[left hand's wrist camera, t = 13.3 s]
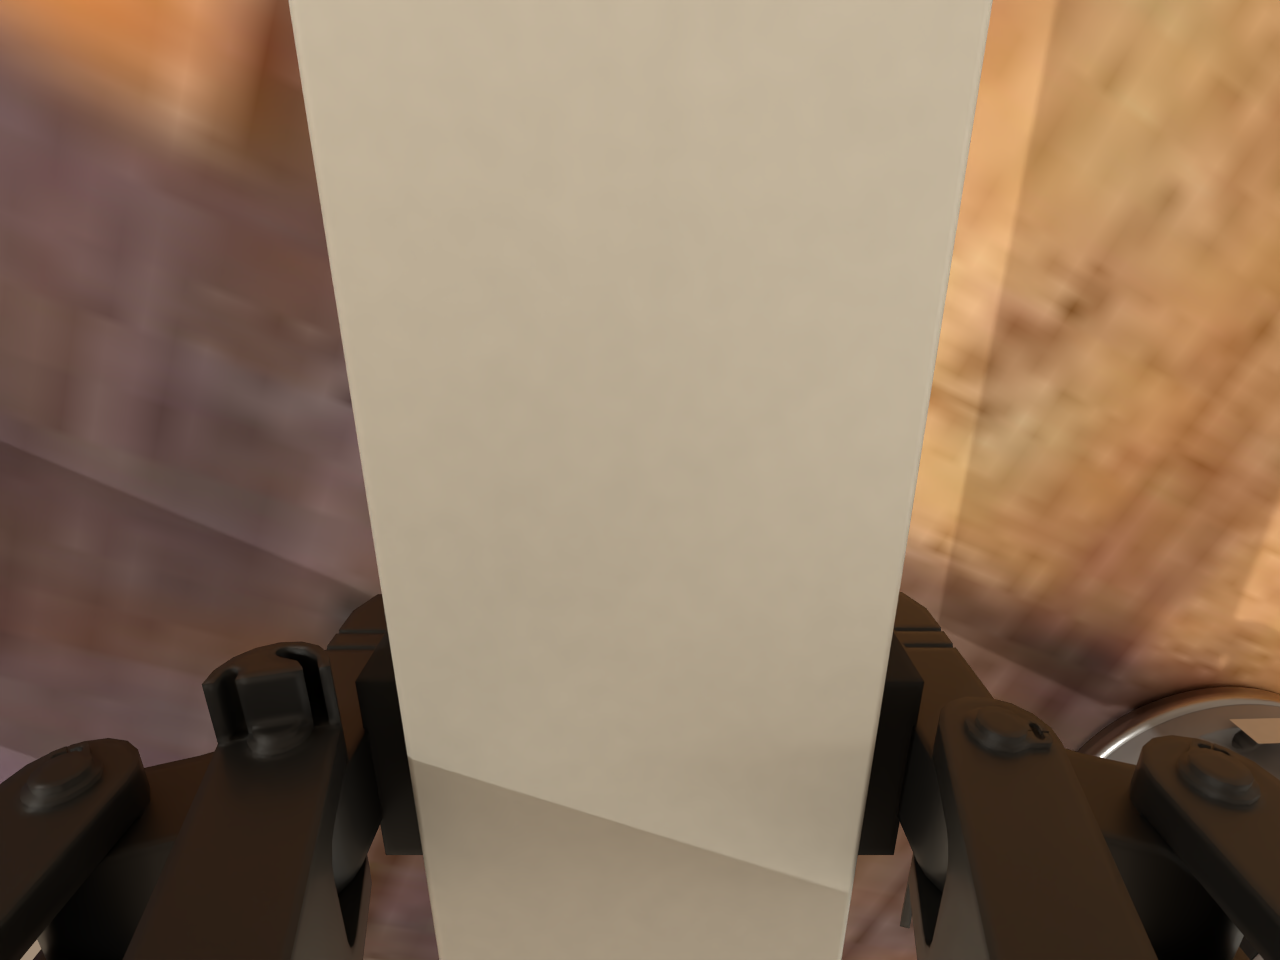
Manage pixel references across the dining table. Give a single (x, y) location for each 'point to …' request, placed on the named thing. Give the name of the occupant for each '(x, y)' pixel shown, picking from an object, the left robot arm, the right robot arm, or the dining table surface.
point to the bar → (640, 436)
